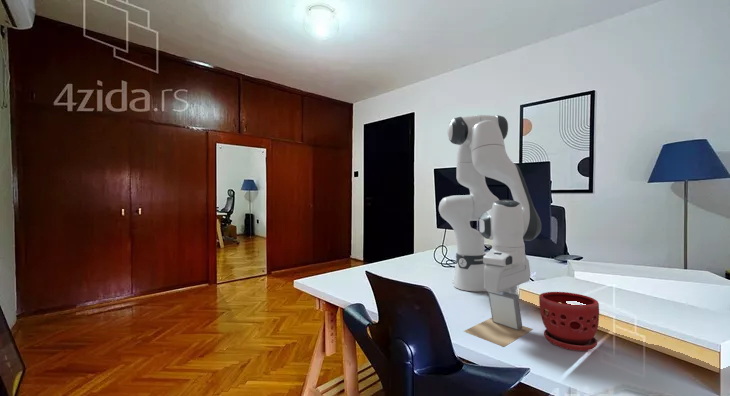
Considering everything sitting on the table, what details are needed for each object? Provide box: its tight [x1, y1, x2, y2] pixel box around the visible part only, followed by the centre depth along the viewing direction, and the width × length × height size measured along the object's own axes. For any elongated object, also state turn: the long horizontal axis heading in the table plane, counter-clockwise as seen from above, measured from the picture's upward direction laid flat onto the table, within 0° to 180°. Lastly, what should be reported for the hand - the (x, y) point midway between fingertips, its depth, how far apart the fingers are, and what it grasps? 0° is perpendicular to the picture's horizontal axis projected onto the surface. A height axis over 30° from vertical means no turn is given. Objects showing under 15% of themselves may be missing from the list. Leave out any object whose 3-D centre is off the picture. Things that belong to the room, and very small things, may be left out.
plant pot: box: [538, 291, 600, 352], centre depth 81 cm, size 13×13×12 cm
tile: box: [487, 291, 523, 331], centre depth 91 cm, size 2×8×10 cm, turn 37°
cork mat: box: [463, 317, 534, 348], centre depth 88 cm, size 16×12×1 cm
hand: (509, 301), depth 92 cm, fingers closed
